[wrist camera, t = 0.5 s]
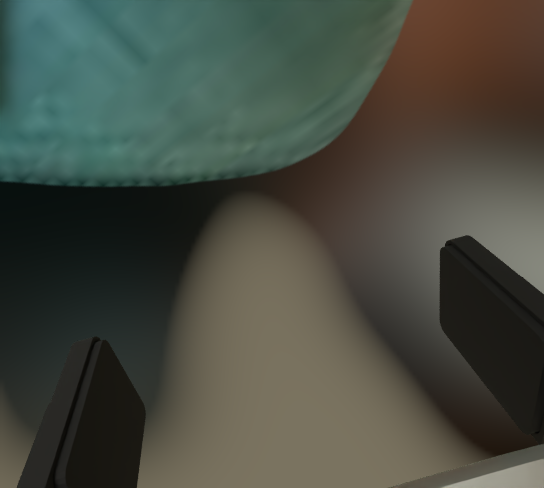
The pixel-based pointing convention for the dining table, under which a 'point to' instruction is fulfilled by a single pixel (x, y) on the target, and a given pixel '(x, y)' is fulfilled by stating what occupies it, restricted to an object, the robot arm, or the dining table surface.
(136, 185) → the dining table surface
